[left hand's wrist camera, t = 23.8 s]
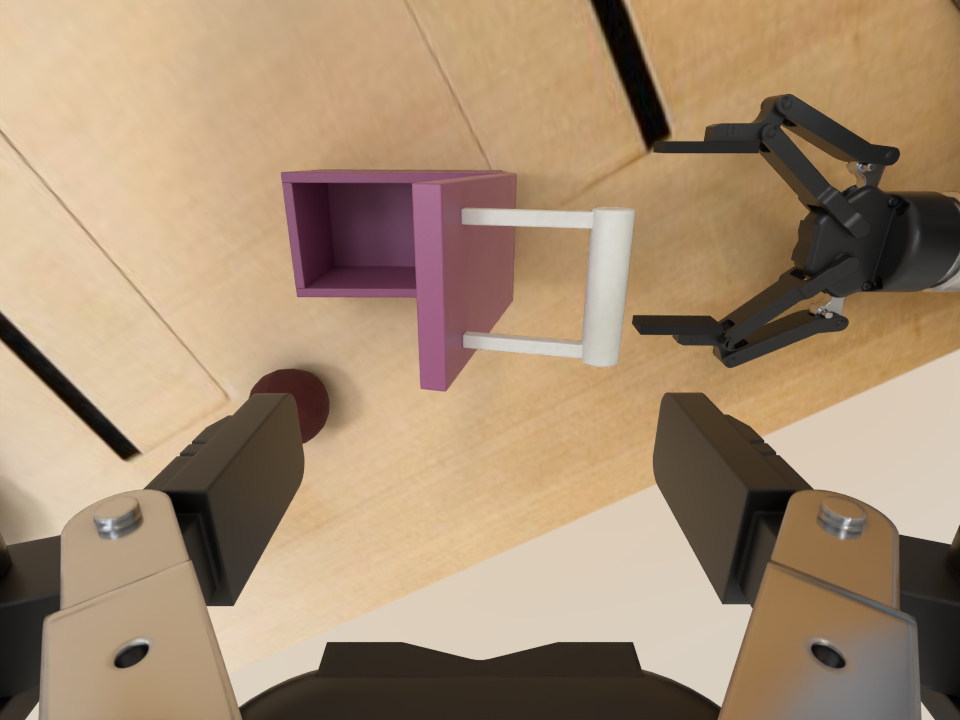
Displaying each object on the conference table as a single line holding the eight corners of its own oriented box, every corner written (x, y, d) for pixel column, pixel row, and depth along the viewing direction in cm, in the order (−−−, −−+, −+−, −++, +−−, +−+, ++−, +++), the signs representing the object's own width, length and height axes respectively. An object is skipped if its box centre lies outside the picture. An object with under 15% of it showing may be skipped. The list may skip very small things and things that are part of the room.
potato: (319, 433, 55) (297, 470, 49) (253, 399, 54) (221, 432, 47) (350, 381, 53) (331, 413, 47) (281, 344, 52) (253, 371, 45)
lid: (420, 389, 24) (616, 411, 22) (411, 183, 21) (642, 186, 19) (496, 299, 40) (616, 307, 38) (498, 173, 36) (630, 174, 34)
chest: (330, 271, 49) (296, 297, 40) (320, 169, 46) (280, 172, 37) (499, 272, 49) (504, 298, 40) (501, 170, 46) (507, 173, 37)
